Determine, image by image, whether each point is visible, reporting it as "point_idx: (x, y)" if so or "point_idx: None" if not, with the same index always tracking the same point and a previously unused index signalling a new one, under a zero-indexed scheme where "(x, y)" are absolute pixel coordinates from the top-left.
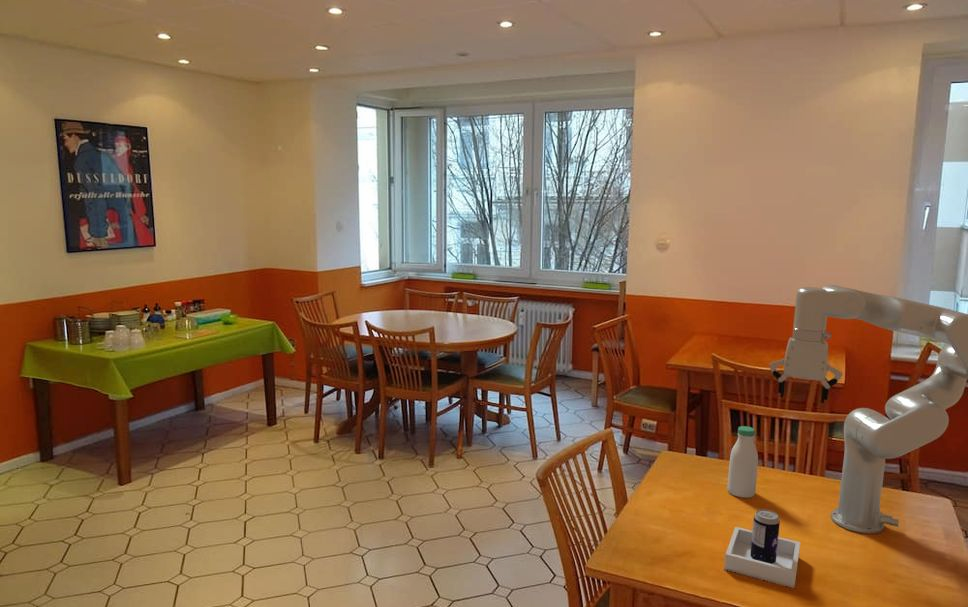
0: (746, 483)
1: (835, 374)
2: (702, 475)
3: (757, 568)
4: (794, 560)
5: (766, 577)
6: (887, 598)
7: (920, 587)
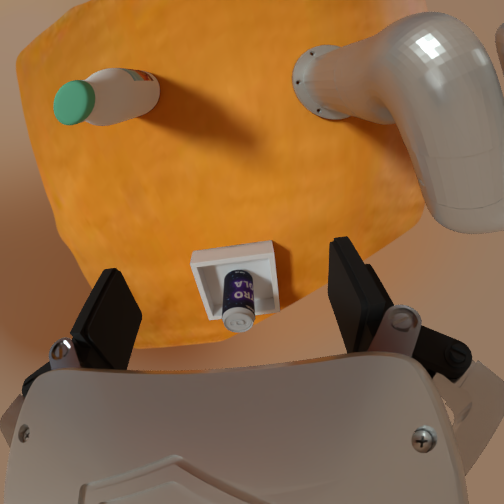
0: (141, 113)
1: (457, 421)
2: None
3: None
4: (275, 293)
5: None
6: None
7: (393, 222)
